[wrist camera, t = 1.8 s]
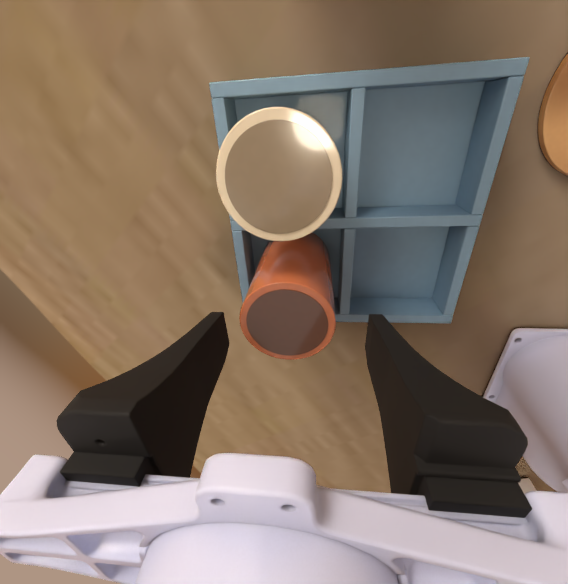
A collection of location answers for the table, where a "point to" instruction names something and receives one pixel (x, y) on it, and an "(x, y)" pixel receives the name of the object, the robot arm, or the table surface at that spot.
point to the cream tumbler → (279, 173)
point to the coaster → (555, 120)
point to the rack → (393, 176)
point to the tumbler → (291, 299)
